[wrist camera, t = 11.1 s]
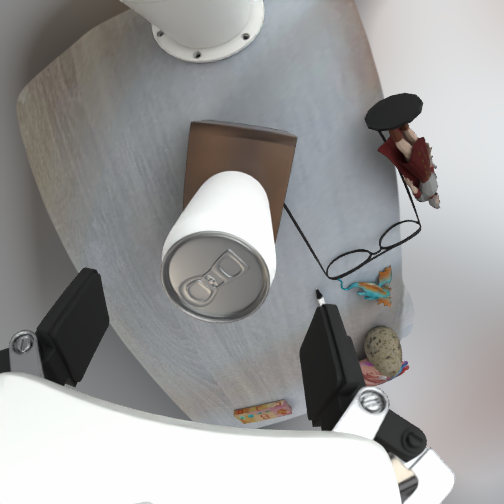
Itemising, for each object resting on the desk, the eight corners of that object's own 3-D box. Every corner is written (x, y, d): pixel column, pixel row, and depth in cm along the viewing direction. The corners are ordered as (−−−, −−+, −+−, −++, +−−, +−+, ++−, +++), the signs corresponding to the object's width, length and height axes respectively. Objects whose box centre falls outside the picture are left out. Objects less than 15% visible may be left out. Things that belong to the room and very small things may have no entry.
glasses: (322, 267, 36) (328, 285, 32) (263, 170, 32) (262, 175, 27) (410, 216, 32) (428, 228, 28) (363, 115, 28) (377, 111, 24)
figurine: (430, 92, 18) (464, 195, 26) (377, 94, 25) (422, 183, 32) (406, 130, 18) (445, 235, 26) (349, 128, 25) (401, 218, 32)
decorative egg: (355, 343, 44) (370, 388, 35) (365, 318, 41) (384, 365, 32) (384, 341, 44) (401, 384, 35) (395, 317, 41) (417, 360, 32)
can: (182, 203, 24) (130, 276, 14) (233, 154, 22) (212, 193, 12) (231, 250, 26) (216, 344, 16) (283, 207, 24) (304, 286, 14)
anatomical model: (331, 367, 50) (386, 381, 50) (330, 392, 45) (388, 403, 46) (362, 338, 43) (419, 355, 44) (365, 364, 39) (424, 378, 39)
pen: (343, 361, 46) (344, 365, 45) (312, 287, 38) (314, 292, 37) (347, 359, 46) (348, 364, 45) (318, 285, 38) (320, 290, 37)
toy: (284, 406, 51) (292, 415, 53) (284, 399, 52) (291, 408, 55) (233, 417, 53) (243, 425, 55) (233, 410, 55) (243, 418, 57)
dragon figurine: (340, 319, 40) (390, 319, 36) (331, 299, 35) (391, 299, 31) (344, 281, 43) (391, 280, 39) (336, 257, 38) (391, 255, 34)
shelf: (194, 232, 34) (179, 264, 27) (206, 119, 28) (190, 121, 21) (265, 242, 35) (267, 277, 28) (287, 131, 28) (297, 136, 21)
